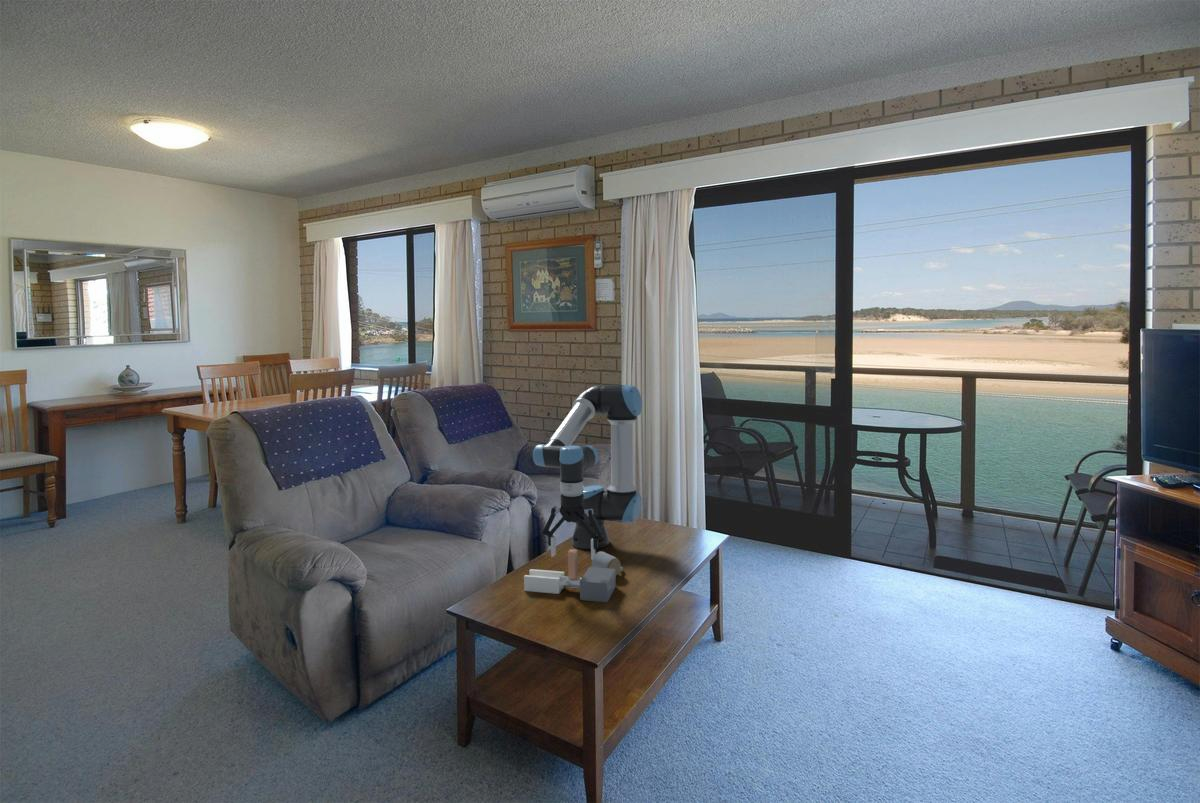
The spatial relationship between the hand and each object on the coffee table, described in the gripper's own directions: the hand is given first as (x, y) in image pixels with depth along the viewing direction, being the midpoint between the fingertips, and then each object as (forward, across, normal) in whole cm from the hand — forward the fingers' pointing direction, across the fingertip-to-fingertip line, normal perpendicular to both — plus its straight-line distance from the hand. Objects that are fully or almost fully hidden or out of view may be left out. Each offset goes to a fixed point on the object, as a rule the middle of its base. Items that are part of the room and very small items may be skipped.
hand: (573, 556), depth 202 cm
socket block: (+12, +8, 0) cm, 14 cm away
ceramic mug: (+12, +8, +17) cm, 22 cm away
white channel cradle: (+12, -10, 0) cm, 16 cm away
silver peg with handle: (+10, +3, 0) cm, 11 cm away
